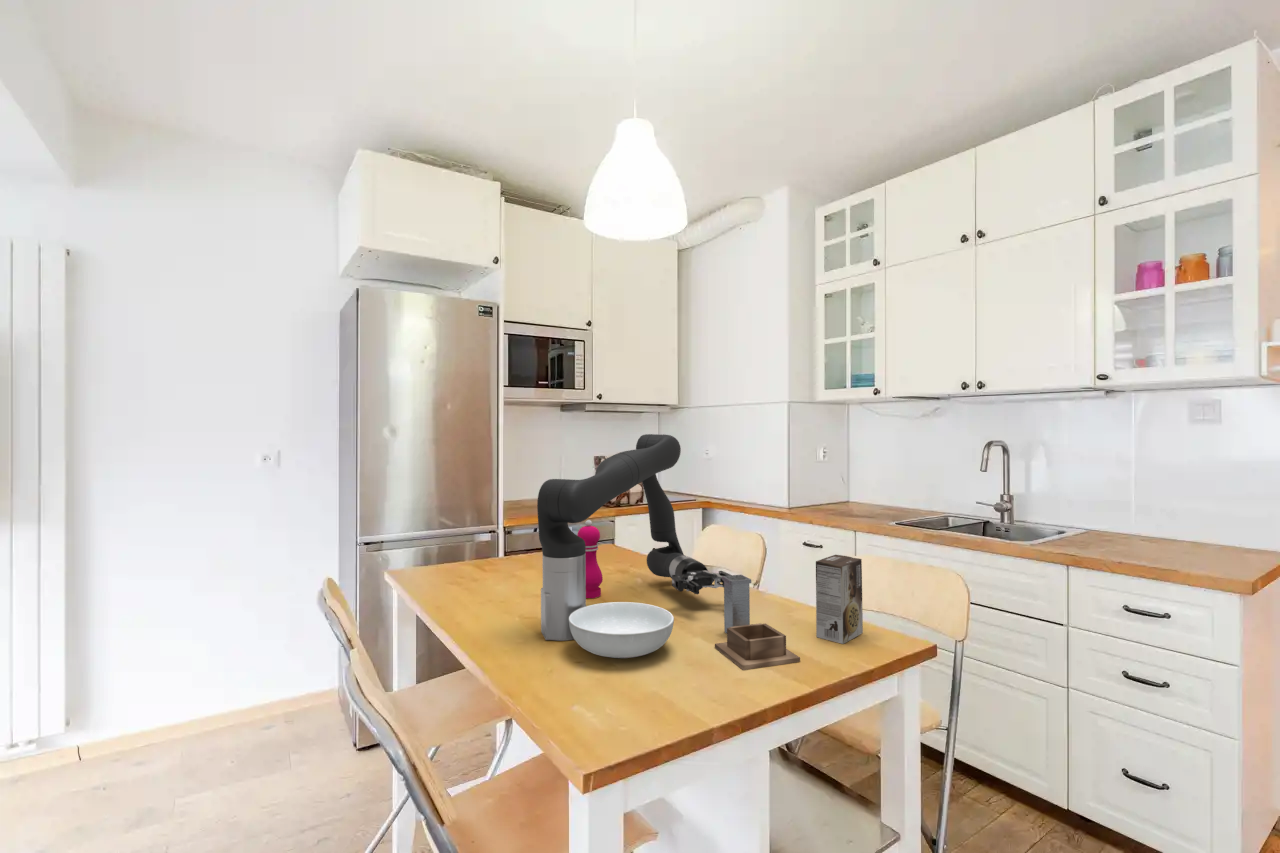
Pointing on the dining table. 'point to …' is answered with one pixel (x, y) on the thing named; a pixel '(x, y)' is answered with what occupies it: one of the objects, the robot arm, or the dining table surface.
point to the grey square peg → (736, 601)
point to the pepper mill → (591, 559)
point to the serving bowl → (621, 628)
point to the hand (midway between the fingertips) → (714, 588)
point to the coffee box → (839, 598)
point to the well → (756, 647)
